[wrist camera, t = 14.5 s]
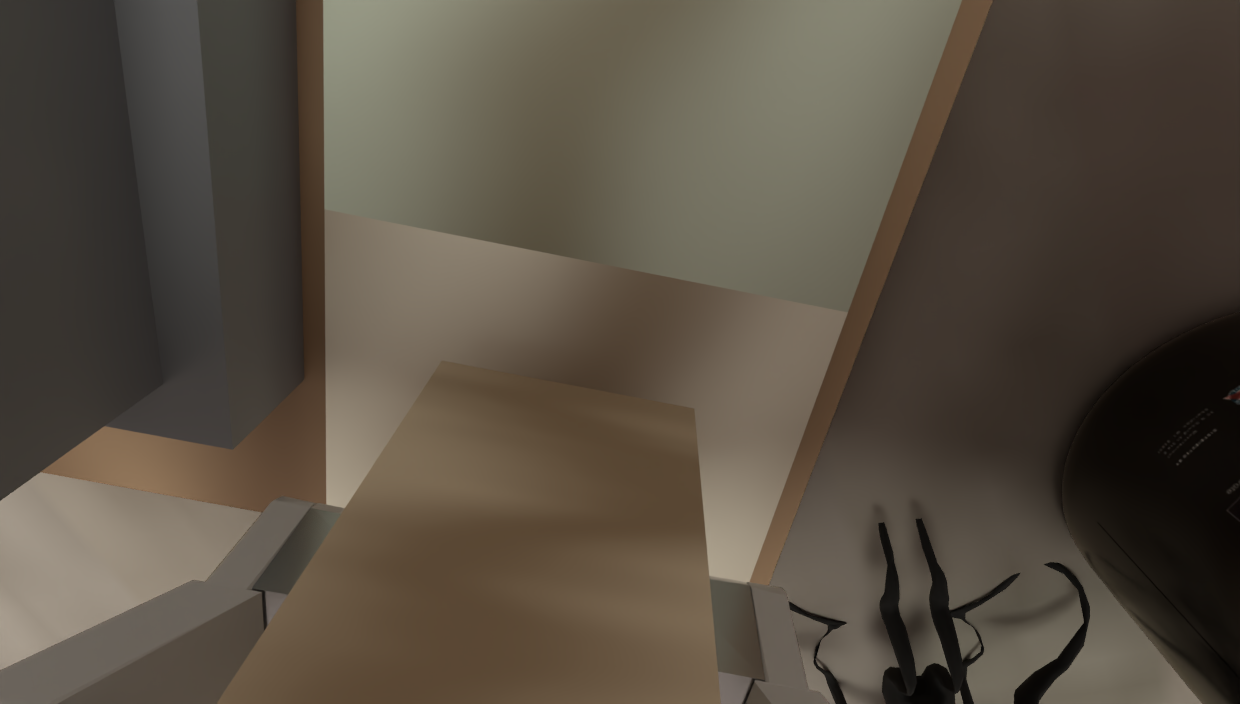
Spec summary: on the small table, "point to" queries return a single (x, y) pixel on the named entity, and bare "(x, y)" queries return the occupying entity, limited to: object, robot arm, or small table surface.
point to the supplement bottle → (1169, 502)
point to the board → (591, 229)
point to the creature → (946, 641)
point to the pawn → (507, 560)
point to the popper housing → (146, 222)
